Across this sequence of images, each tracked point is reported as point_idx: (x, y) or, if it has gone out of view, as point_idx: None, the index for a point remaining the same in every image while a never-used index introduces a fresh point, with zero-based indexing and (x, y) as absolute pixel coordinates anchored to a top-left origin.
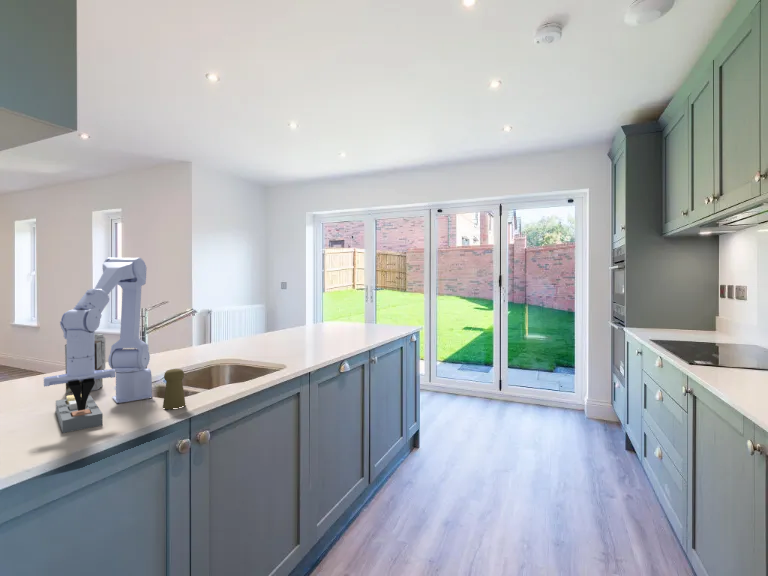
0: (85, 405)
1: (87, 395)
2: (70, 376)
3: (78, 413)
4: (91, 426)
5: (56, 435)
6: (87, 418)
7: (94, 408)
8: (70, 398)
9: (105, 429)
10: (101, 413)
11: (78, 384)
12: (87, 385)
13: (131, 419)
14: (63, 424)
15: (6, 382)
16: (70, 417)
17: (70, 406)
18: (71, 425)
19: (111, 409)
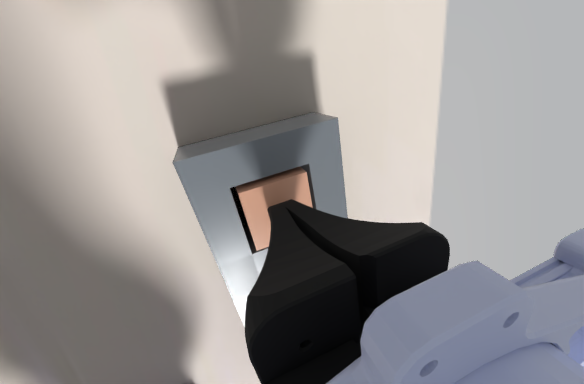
0: (270, 214)
1: (276, 242)
2: (569, 331)
3: (288, 194)
4: (220, 136)
5: (328, 92)
6: (241, 140)
7: (235, 262)
8: None
9: (143, 67)
10: (178, 164)
11: (385, 284)
12: (306, 273)
13: (44, 187)
14: (325, 117)
15: None
16: (312, 156)
17: None
18: (295, 122)
19: (196, 334)
